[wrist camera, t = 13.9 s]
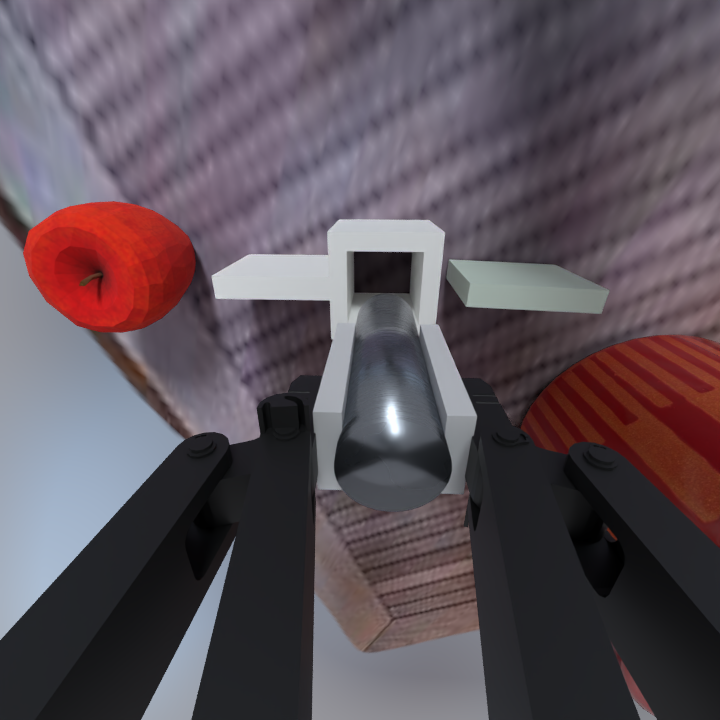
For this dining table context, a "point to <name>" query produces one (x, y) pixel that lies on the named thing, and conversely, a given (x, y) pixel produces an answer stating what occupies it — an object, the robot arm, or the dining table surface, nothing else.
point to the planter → (645, 422)
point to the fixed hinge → (343, 270)
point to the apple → (110, 264)
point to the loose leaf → (524, 287)
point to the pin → (390, 415)
